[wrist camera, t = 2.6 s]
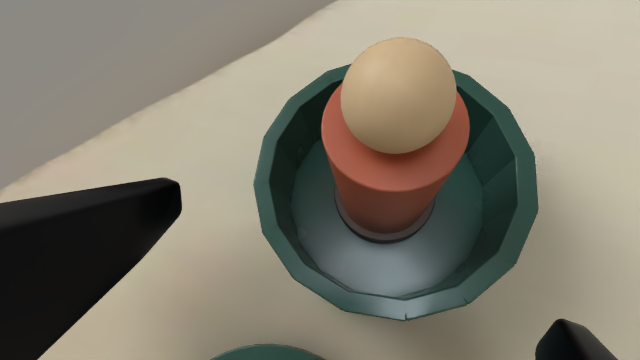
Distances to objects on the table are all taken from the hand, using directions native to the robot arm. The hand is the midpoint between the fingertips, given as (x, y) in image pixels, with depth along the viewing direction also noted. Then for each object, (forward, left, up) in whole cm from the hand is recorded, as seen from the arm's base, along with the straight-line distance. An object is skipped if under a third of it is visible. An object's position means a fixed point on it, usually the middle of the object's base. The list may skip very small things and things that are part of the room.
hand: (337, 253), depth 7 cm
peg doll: (+5, +1, -11) cm, 12 cm away
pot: (+5, +1, -11) cm, 12 cm away
